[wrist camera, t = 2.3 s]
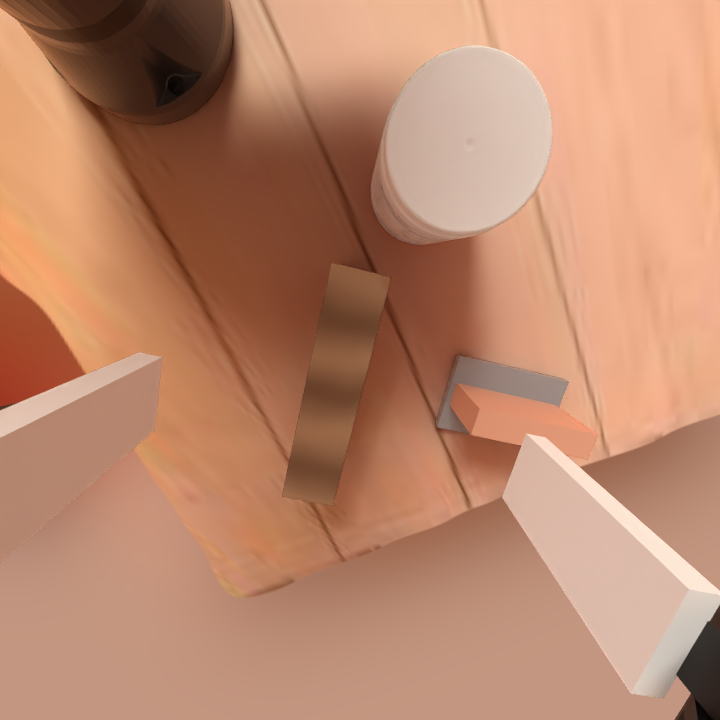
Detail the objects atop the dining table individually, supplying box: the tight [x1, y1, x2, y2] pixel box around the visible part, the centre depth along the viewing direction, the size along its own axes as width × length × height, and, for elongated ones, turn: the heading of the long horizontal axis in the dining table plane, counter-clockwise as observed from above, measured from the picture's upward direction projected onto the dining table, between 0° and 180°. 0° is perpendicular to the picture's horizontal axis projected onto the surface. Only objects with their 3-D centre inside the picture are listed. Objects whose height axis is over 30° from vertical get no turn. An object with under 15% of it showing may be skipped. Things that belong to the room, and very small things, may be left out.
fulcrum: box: [435, 354, 598, 460], centre depth 36 cm, size 12×8×8 cm, turn 76°
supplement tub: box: [371, 46, 552, 245], centre depth 27 cm, size 10×10×15 cm
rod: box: [282, 263, 391, 506], centre depth 31 cm, size 20×4×4 cm, turn 167°
